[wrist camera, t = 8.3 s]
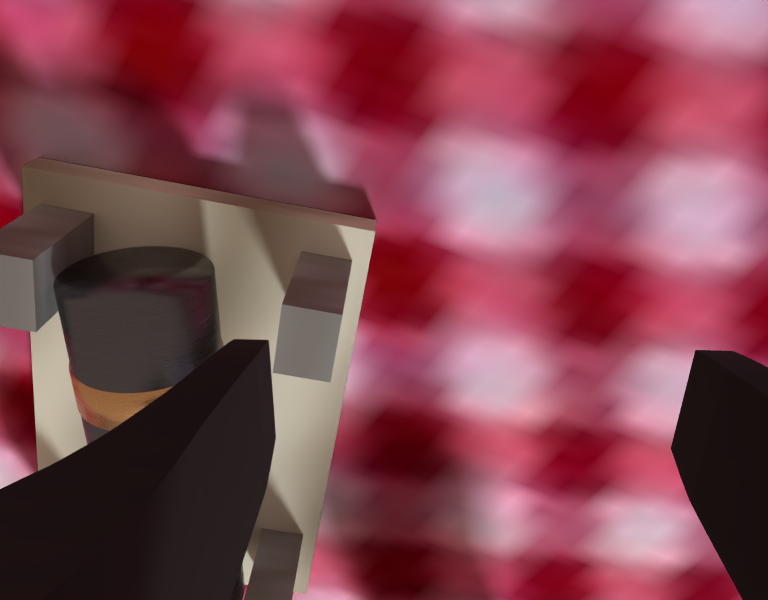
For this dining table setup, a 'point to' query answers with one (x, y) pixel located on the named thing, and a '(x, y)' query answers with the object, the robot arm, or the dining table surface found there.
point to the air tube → (136, 331)
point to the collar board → (236, 314)
